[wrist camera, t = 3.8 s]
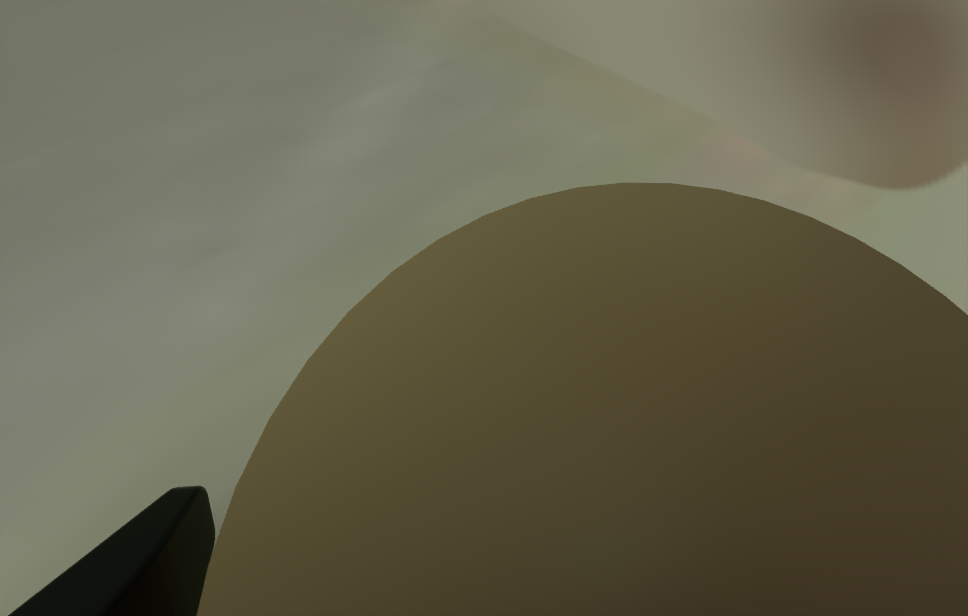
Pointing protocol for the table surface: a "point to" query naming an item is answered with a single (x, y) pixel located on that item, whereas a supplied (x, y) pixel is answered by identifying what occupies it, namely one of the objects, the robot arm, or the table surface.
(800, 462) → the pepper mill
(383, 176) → the table surface
